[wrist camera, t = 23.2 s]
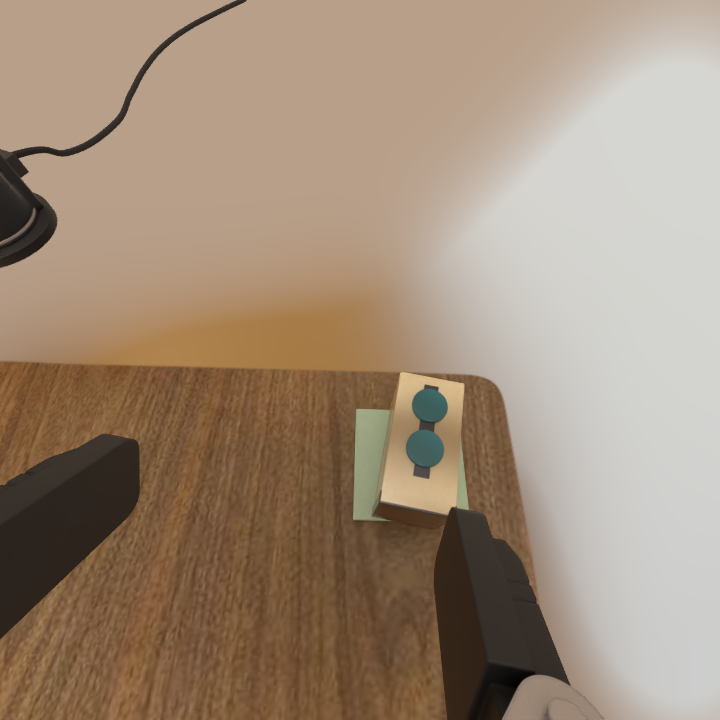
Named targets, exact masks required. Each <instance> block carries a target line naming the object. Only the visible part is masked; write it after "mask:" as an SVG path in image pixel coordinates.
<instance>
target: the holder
mask: <svg viewBox="0 0 720 720" xmlns="http://www.w3.org/2000/svg"><path fill="white" fill-rule="evenodd" d="M463 397H464V384H463V383H457V382H452V381H447V380H442V379H436V378H431V377H426V376H421V375H416V374H410V373H405V372H400V376H399V379H398V383H397V386H396V390H395V393H394V396H393V400H392V403H391V407H390V412H389V418H388V424H387V430H386V436H385V442H384V447H383V453H382V459H381V465H380V471H379V477H378V483H377V489H376V495H375V501H374V505H373V509H372V515H371V516H372V517H376V518H381V519H385V520H390V521H395V522H399V523H404V524H409V525H413V526H418V527H422V528H427V529H434V528H436V527H439V526H441V525H443V524H446V520H447V517H448V513H449V511H450V509H451V507H456V508H457V506H456V503H457V488H458V473H459V457H460V442H461V427H462V412H463Z"/></svg>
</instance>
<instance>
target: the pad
mask: <svg viewBox="0 0 720 720" xmlns="http://www.w3.org/2000/svg"><path fill="white" fill-rule="evenodd" d="M389 412H390V410H374V409H356V427H355V464H354V501H353V520H361V521H390V520H385V519H381V518H376V517H372V516H371V515H372V509H373V505H374V501H375V495H376V489H377V483H378V477H379V471H380V465H381V459H382V453H383V447H384V442H385V436H386V430H387V424H388V418H389ZM456 506H457V508H461V509H466V510H469V507H468V498H467V490H466V481H465V472H464V463H463V455H462V446H461V442H460V457H459V473H458V488H457V503H456Z"/></svg>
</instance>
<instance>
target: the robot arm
mask: <svg viewBox="0 0 720 720" xmlns="http://www.w3.org/2000/svg"><path fill="white" fill-rule="evenodd" d="M245 1H246V0H236V1H234V2H232V3H230V4H228V5H226V6H223V7H222V8H219V9H217V10H215V11H213V12H211V13H209V14H207V15H205V16H203V17H201V18H200V19H198V20H195V21H194V22H192V23H190V24H188V25H187V26H185V27H184V28H182V29H180V30H179V31H177V32H176V33H174V34H173V35H172V36H171V37H169V38H168V39H167V40H165V41H164V42H163V43H162V44H161V45H160V46H159V47H158V48H157V49H156V50H155V51H154V52H153V53H152V54H151V56H150V57H149V58H148V60H147V61H146V62H145V64H144V65H143V67H142V68H141V70H140V71H139V73H138V75H137V76H136V78H135V80H134V82H133V84H132V86H131V88H130V90H129V92H128V94H127V96H126V98H125V101H124V104H123V107H122V109H121V111H120V113H119V114H118V116H117V117H116V118H115V120H113V121H112V122H111V123H110V124H109V125H108V126H107V127H106V128H105V129H103V130H102V131H101V132H100V133H98V134H97V135H96V136H94V137H93V138H91V139H90V140H88V141H86V142H85V143H83V144H80V145H79V146H76V147H73V148H70V149H66V150H56V149H53V148H49V147H30V148H25V149H21V150H17V151H14V152H8V151H4V150H1V149H0V249H2V248H5V247H7V246H9V245H11V244H13V243H15V242H17V241H18V240H20V239H21V238H23V237H24V236H25V235H27V234H28V233H29V232H30V231H31V230H32V228H33V227H34V226H35V224H36V222H37V219H38V213H39V211H40V210H42V209H43V208H44V206H43V204H42V203H41V202H40V201H39V200H38V198H37V197H36V196H35V195H34V194H33V192H32V191H31V190H30V189H29V188H28V186H27V185H26V184H25V183H24V182H23V181H22V179H21V177H23V176H24V175H25V174H27V173H28V170H27V169H26V168H25V166H24V165H23V164H22V163H21V161H20V160H19V159H18V158H21V157H24V156H28V155H32V154H38V153H49V154H53V155H56V156H70V155H73V154H76V153H79V152H81V151H84V150H86V149H88V148H90V147H92V146H93V145H95V144H96V143H98V142H99V141H101V140H102V139H103V138H104V137H106V136H107V135H108V134H109V133H110V132H112V131H113V130H114V129H115V128H116V127H117V126H118V125H119V124H120V123H121V121H122V120H123V119H124V117H125V115H126V113H127V111H128V108H129V105H130V102H131V100H132V97H133V95H134V94H135V92H136V90H137V88H138V86H139V83H140V82H141V80H142V78H143V76H144V74H145V73H146V71H147V70H148V68H149V67H150V65H151V64H152V63H153V61H154V60H155V59H156V58H157V56H158V55H159V54H160V53H161V52H162V51H163V50H164V49H165V48H166V47H167V46H169V45H170V44H171V43H172V42H173V41H174V40H176V39H177V38H179V37H180V36H182V35H183V34H184V33H186V32H187V31H189V30H191V29H193V28H194V27H195V26H198V25H199V24H201V23H203V22H205V21H207V20H209V19H211V18H213V17H215V16H217V15H219V14H221V13H222V12H225V11H227V10H229V9H231V8H233V7H235V6H237V5H239V4H242V3H244V2H245ZM139 491H140V480H139V444H138V442H137V441H136V440H134V439H129V438H124V437H119V436H115V435H110V434H101V435H99V436H97V437H95V438H94V439H92V440H90V441H89V442H87V443H85V444H84V445H82V446H80V447H79V448H77V449H73V450H70V451H68V452H65V453H62V454H59V455H56V456H53V457H50V458H48V459H46V460H44V461H43V462H41V463H39V464H37V465H36V466H34V467H32V468H30V469H29V470H27V471H26V473H25V474H20V475H18V476H16V477H15V478H13V479H11V480H9V481H8V482H7V483H6V485H5V486H4V485H1V486H0V639H1V638H2V637H3V636H4V635H5V634H6V633H7V632H8V631H9V630H10V629H11V628H12V627H13V626H14V625H15V624H17V623H18V622H19V621H20V620H21V619H22V618H23V617H24V616H25V615H26V614H27V613H28V612H29V611H30V610H31V609H32V608H33V607H34V606H35V605H36V604H37V603H38V602H40V601H41V600H42V599H43V598H44V597H45V596H46V595H47V594H48V593H49V592H50V591H51V590H52V589H53V588H54V587H55V586H56V585H57V584H58V583H59V582H60V581H62V580H63V579H64V578H65V577H66V576H67V575H68V574H69V573H70V572H71V571H72V570H73V569H74V568H75V567H76V566H77V565H78V564H79V563H80V562H81V561H82V560H83V559H85V558H86V557H87V556H88V555H89V554H90V553H91V552H92V551H93V550H94V549H95V548H96V547H97V546H98V545H99V544H100V543H101V542H102V541H103V540H104V539H105V538H106V537H108V536H109V535H110V534H111V533H112V532H113V531H114V530H115V529H116V528H117V527H118V526H119V525H120V524H121V523H122V522H123V521H124V520H125V519H126V518H127V517H128V516H129V515H130V514H131V512H132V511H133V509H134V507H135V505H136V503H137V501H138V497H139ZM434 591H435V601H436V611H437V621H438V631H439V641H440V651H441V661H442V671H443V681H444V691H445V701H446V711H447V720H604V718H603V717H602V715H601V714H600V713H599V712H598V711H597V709H596V708H595V707H594V706H593V705H592V704H591V703H590V702H589V701H588V700H587V699H586V698H585V697H584V696H583V695H581V693H579V692H578V691H577V690H575V689H574V688H572V687H571V685H570V683H569V681H568V679H567V676H566V673H565V671H564V668H563V666H562V663H561V661H560V658H559V656H558V653H557V650H556V648H555V646H554V643H553V641H552V638H551V636H550V633H549V631H548V628H547V625H546V623H545V620H544V618H543V615H542V612H541V610H540V607H539V605H538V604H536V597H535V595H534V592H533V590H532V587H531V586H530V585H529V579H528V577H527V574H526V572H525V569H524V567H523V564H522V562H521V560H520V558H519V557H518V556H517V555H516V554H515V552H514V551H513V550H512V549H511V547H510V546H509V545H508V544H507V543H506V541H504V540H500V539H495V538H492V535H491V532H490V529H489V526H488V522H487V519H486V517H485V515H484V514H483V513H480V512H475V511H470V510H466V509H461V508H456V507H451V509H450V511H449V513H448V517H447V520H446V524H445V527H444V531H443V535H442V538H441V542H440V546H439V549H438V553H437V557H436V561H435V569H434Z"/></svg>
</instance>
